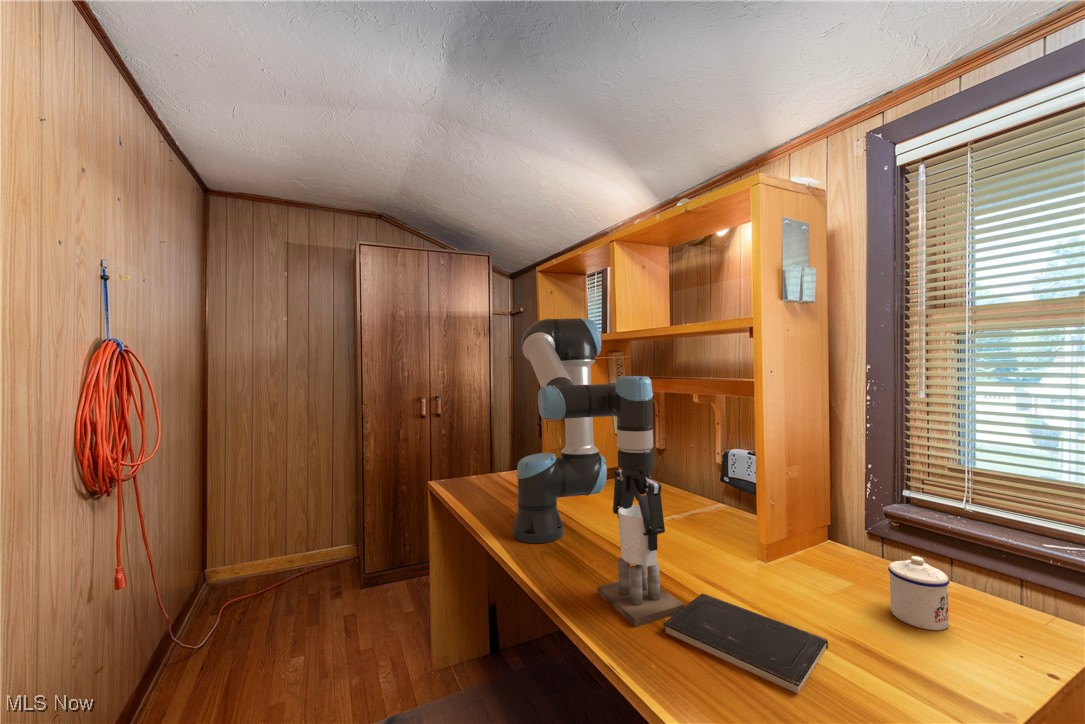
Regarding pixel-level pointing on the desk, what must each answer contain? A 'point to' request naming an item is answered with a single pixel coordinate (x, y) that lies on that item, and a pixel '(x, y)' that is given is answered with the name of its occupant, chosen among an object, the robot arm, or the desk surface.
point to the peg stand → (639, 594)
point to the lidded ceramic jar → (919, 594)
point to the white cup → (631, 534)
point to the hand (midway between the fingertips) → (638, 556)
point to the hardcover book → (749, 640)
